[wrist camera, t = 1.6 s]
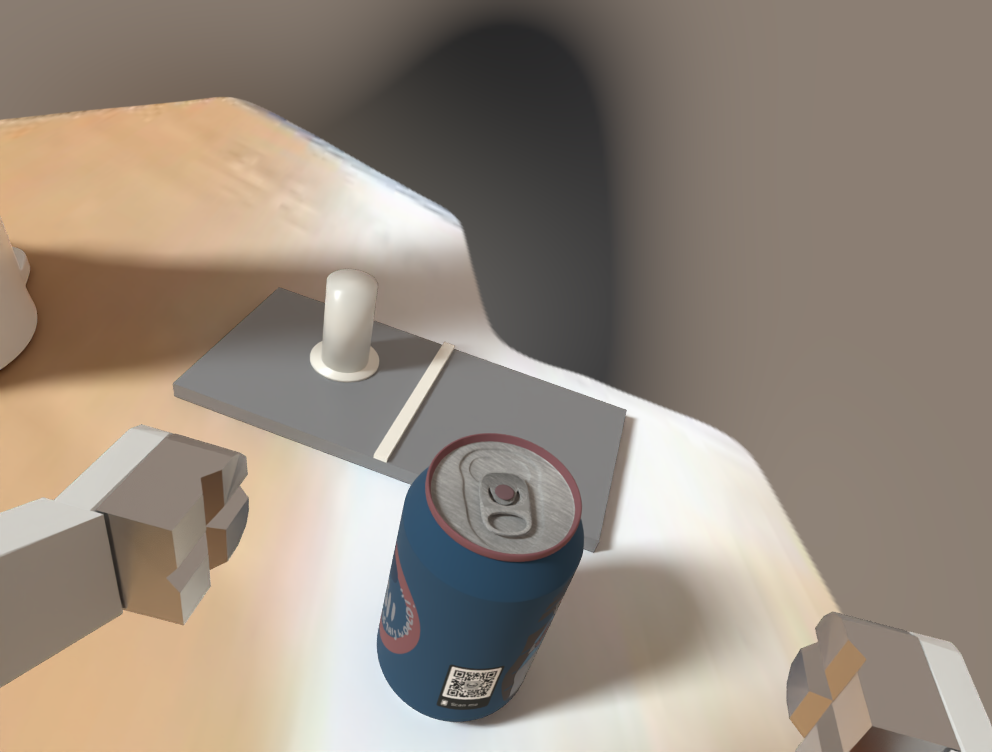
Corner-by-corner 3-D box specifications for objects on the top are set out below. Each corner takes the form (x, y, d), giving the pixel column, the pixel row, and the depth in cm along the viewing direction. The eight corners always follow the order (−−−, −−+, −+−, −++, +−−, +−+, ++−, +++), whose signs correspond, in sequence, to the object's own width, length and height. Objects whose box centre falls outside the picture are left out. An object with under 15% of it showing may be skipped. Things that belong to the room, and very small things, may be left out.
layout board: (174, 396, 41) (164, 298, 37) (278, 298, 51) (280, 211, 46) (593, 552, 39) (635, 468, 35) (622, 420, 48) (657, 340, 44)
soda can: (377, 589, 34) (410, 412, 27) (514, 596, 36) (581, 430, 28) (369, 734, 29) (407, 565, 22) (529, 736, 31) (617, 577, 23)
